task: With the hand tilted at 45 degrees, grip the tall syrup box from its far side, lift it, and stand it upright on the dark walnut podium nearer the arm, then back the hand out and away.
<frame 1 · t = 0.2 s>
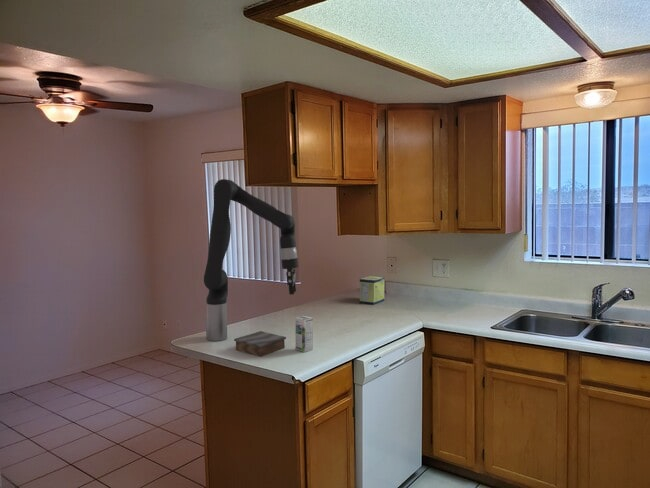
hand: (292, 293, 221), 23 cm above the worktop, tool pointing down, fingers open, 8 cm apart
podium: (260, 349, 213), on the worktop
protein box: (372, 302, 312), on the worktop
syrup box: (304, 350, 212), on the worktop
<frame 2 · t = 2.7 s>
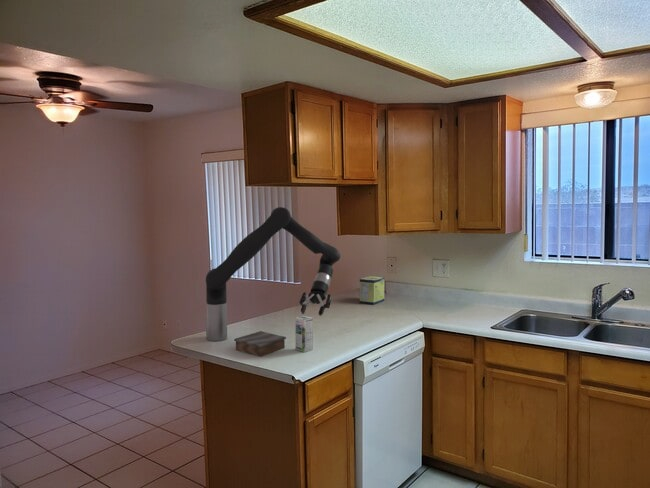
hand: (311, 313, 218), 14 cm above the worktop, tool tilted 45°, fingers open, 8 cm apart
nothing on the worktop moved.
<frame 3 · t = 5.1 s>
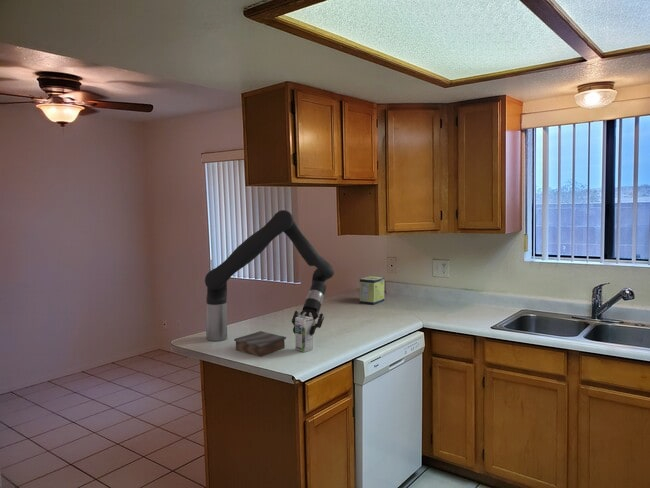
hand: (302, 333, 210), 8 cm above the worktop, tool tilted 45°, fingers closed on syrup box, 7 cm apart
syrup box: (304, 350, 212), on the worktop, touching gripper
everything else where it was.
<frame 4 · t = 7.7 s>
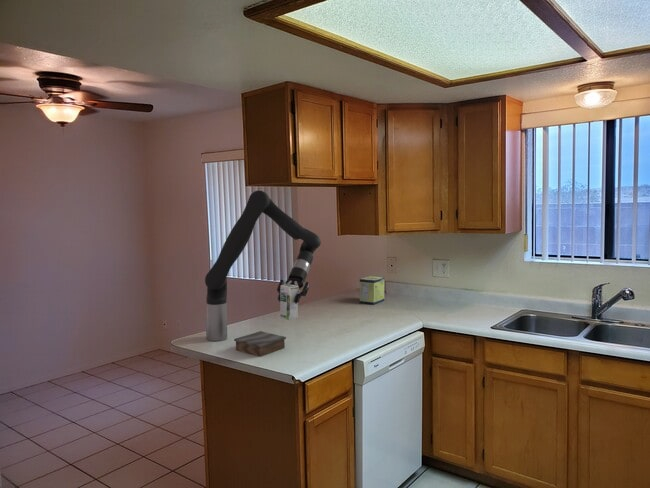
hand: (287, 301, 209), 22 cm above the worktop, tool tilted 45°, fingers closed on syrup box, 7 cm apart
syrup box: (288, 318, 211), point 14 cm above the worktop, touching gripper
everything else where it was.
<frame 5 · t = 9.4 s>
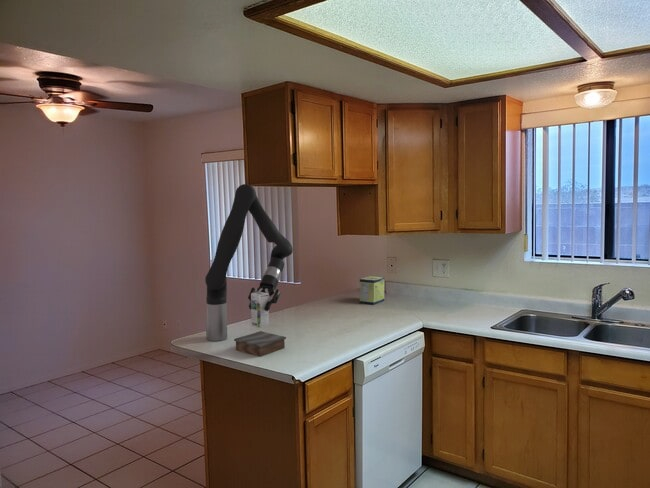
hand: (258, 309, 210), 18 cm above the worktop, tool tilted 45°, fingers closed on syrup box, 7 cm apart
syrup box: (260, 326, 213), point 10 cm above the worktop, touching gripper
everything else where it was.
when the fingers open (14 cm above the worktop, at t = 10.7 s): syrup box drops 1 cm, resting on podium.
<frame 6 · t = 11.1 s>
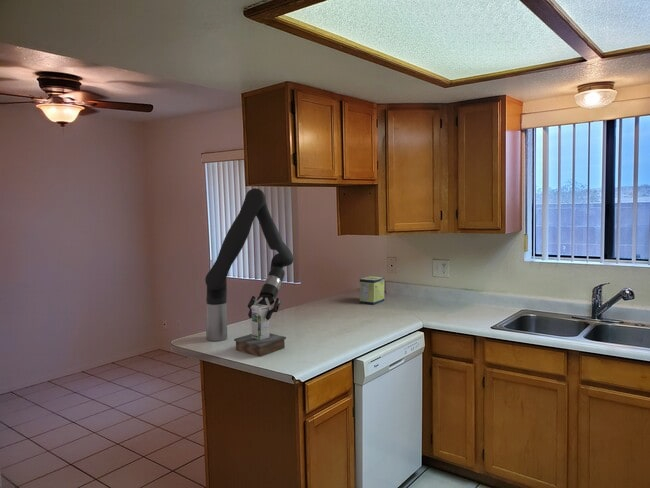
hand: (258, 318, 211), 14 cm above the worktop, tool tilted 45°, fingers open, 8 cm apart
syrup box: (260, 338, 213), point 5 cm above the worktop, touching podium
everything else where it was.
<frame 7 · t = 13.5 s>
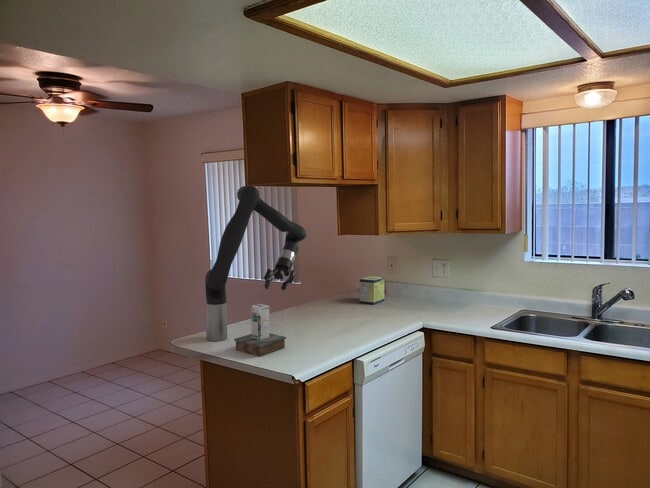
hand: (274, 288, 222), 25 cm above the worktop, tool tilted 45°, fingers open, 8 cm apart
nothing on the worktop moved.
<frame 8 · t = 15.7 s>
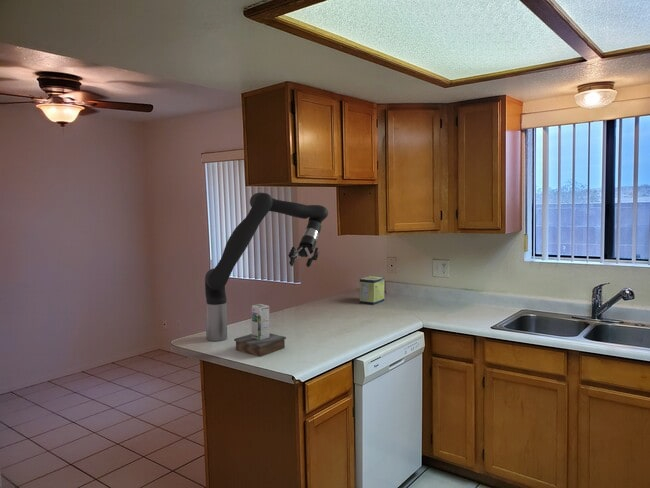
hand: (299, 265, 227), 35 cm above the worktop, tool tilted 45°, fingers open, 8 cm apart
nothing on the worktop moved.
at the end: syrup box inside the target area on the podium (0.3 cm from its centre), point 4.8 cm above the podium's base; syrup box tilted 0°; the gripper is holding nothing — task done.
